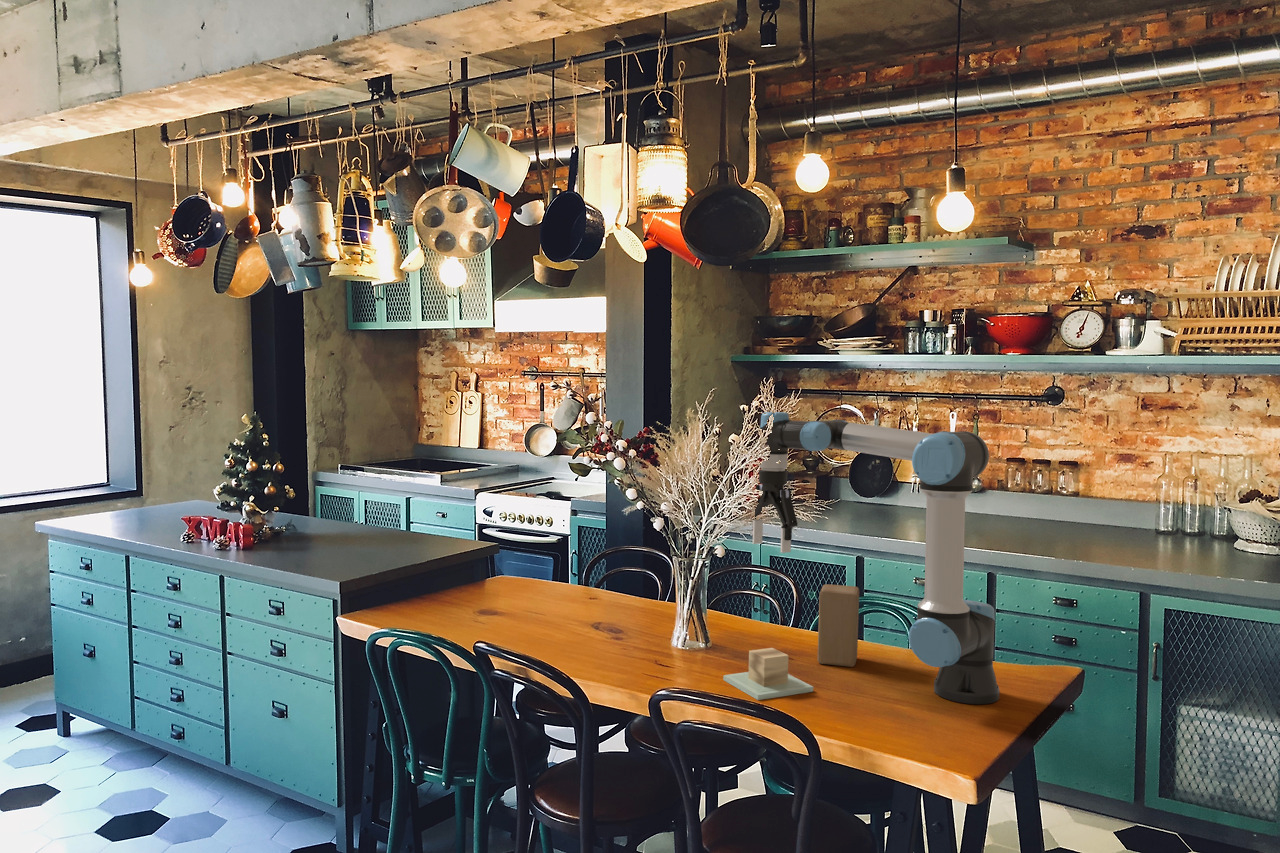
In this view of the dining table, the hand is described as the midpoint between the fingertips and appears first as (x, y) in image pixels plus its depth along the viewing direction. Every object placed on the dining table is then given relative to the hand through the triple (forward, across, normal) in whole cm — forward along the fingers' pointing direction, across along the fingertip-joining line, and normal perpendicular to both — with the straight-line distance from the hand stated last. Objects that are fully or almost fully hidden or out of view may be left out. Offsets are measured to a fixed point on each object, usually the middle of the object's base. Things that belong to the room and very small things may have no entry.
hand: (771, 547), depth 254 cm
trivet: (+31, -18, +12) cm, 38 cm away
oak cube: (+29, -18, +12) cm, 37 cm away
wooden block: (+31, -8, -17) cm, 36 cm away
